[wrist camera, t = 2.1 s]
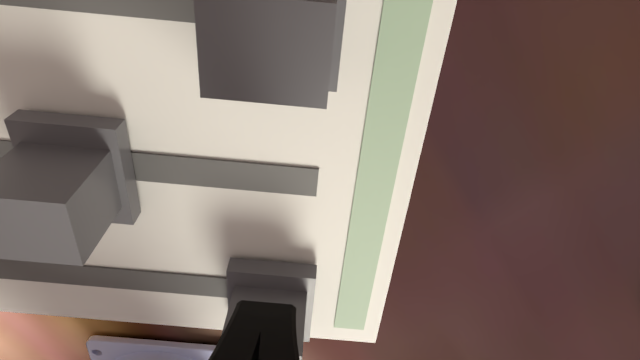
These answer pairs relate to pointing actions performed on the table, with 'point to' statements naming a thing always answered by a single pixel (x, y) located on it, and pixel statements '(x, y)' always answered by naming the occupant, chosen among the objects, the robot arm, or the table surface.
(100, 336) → the robot arm
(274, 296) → the knob
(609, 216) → the table surface
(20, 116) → the knob
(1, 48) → the switch board
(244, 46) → the knob
